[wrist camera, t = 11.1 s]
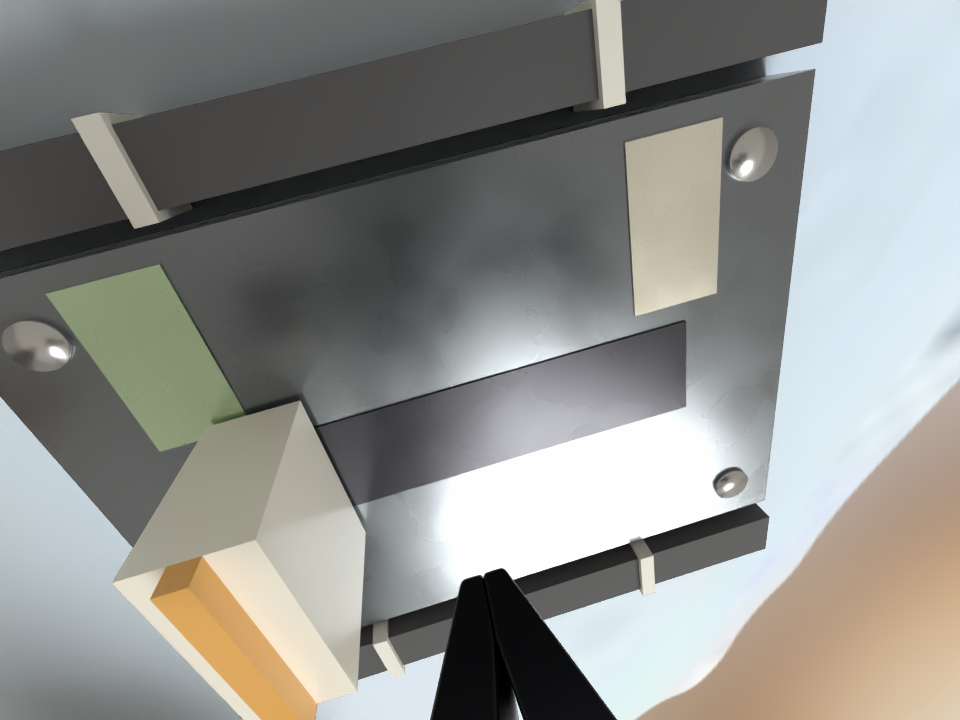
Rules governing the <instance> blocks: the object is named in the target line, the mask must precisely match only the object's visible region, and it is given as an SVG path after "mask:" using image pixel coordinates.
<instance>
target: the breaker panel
mask: <svg viewBox="0 0 960 720" xmlns="http://www.w3.org/2000/svg"><path fill="white" fill-rule="evenodd" d="M814 77H815V69H811V70H804V71H797V72H790V73H783V74H776V75H769V76H764V77H761V78H757V79H753V80H749V81H745V82H741V83H737V84H733V85H729V86H725V87H722V88H718V89H714V90H710V91H706V92H702V93H698V94H694V95H690V96H687V97H683V98H679V99H675V100H671V101H667V102H663V103H659V104H655V105H651V106H648V107H644V108H640V109H636V110H632V111H628V112H624V113H620V114H616V115H613V116H609V117H605V118H601V119H597V120H593V121H589V122H585V123H581V124H577V125H574V126H570V127H566V128H562V129H558V130H554V131H550V132H546V133H542V134H539V135H535V136H531V137H527V138H523V139H519V140H515V141H511V142H507V143H504V144H500V145H496V146H492V147H488V148H484V149H480V150H476V151H472V152H468V153H465V154H461V155H457V156H453V157H449V158H445V159H441V160H437V161H433V162H430V163H426V164H422V165H418V166H414V167H410V168H406V169H402V170H398V171H394V172H391V173H387V174H383V175H379V176H375V177H371V178H367V179H363V180H359V181H356V182H352V183H348V184H344V185H340V186H336V187H332V188H328V189H324V190H320V191H317V192H313V193H309V194H305V195H301V196H297V197H293V198H289V199H285V200H282V201H278V202H274V203H270V204H266V205H262V206H258V207H254V208H250V209H246V210H243V211H239V212H235V213H231V214H227V215H223V216H219V217H215V218H211V219H208V220H204V221H200V222H196V223H192V224H188V225H184V226H180V227H176V228H173V229H169V230H165V231H161V232H157V233H153V234H149V235H145V236H141V237H137V238H134V239H130V240H126V241H122V242H118V243H114V244H110V245H106V246H102V247H99V248H95V249H91V250H87V251H83V252H79V253H75V254H71V255H67V256H63V257H60V258H56V259H52V260H48V261H44V262H40V263H36V264H32V265H28V266H25V267H21V268H17V269H13V270H9V271H5V272H1V273H0V397H1V398H2V399H3V400H4V401H5V402H6V404H7V405H8V406H9V407H10V408H11V409H12V410H13V412H14V413H15V414H16V415H17V416H18V417H19V418H20V420H21V421H22V422H23V423H24V424H25V425H26V426H27V427H28V429H29V430H30V431H31V432H32V433H33V434H34V435H35V437H36V438H37V439H38V440H39V441H40V442H41V443H42V445H43V446H44V447H45V448H46V449H47V450H48V451H49V453H50V454H51V455H52V456H53V457H54V458H55V459H56V461H57V462H58V463H59V464H60V465H61V466H62V467H63V469H64V470H65V471H66V472H67V473H68V474H69V475H70V477H71V478H72V479H73V480H74V481H75V482H76V483H77V484H78V486H79V487H80V488H81V489H82V490H83V491H84V492H85V494H86V495H87V496H88V497H89V498H90V499H91V500H92V502H93V503H94V504H95V505H96V506H97V507H98V508H99V510H100V511H101V512H102V513H103V514H104V515H105V516H106V518H107V519H108V520H109V521H110V522H111V523H112V524H113V526H114V527H115V528H116V529H117V530H118V531H119V532H120V534H121V535H122V536H123V537H124V538H125V539H126V540H127V541H128V543H129V544H130V545H131V546H132V547H134V546H135V544H136V542H137V541H138V539H139V537H140V536H141V534H142V532H143V531H144V529H145V527H146V526H147V524H148V522H149V521H150V519H151V518H152V516H153V514H154V513H155V511H156V509H157V508H158V506H159V504H160V503H161V501H162V499H163V498H164V496H165V495H166V493H167V491H168V490H169V488H170V486H171V485H172V483H173V481H174V480H175V478H176V476H177V475H178V473H179V471H180V470H181V468H182V467H183V465H184V463H185V462H186V460H187V458H188V457H189V455H190V453H191V452H192V450H193V448H194V447H195V445H196V444H197V442H198V440H199V439H200V437H201V435H202V434H203V432H204V430H205V429H206V427H208V426H212V425H215V424H219V423H222V422H226V421H229V420H233V419H236V418H240V417H243V416H247V415H251V414H254V413H258V412H261V411H265V410H268V409H272V408H275V407H279V406H282V405H286V404H289V403H293V402H296V401H301V403H302V405H303V407H304V409H305V411H306V413H307V415H308V417H309V419H310V421H311V423H312V425H313V427H314V429H315V431H316V433H317V435H318V437H319V439H320V441H321V443H322V445H323V447H324V449H325V451H326V453H327V455H328V457H329V459H330V461H331V463H332V466H333V468H334V470H335V472H336V474H337V476H338V478H339V480H340V482H341V484H342V486H343V488H344V490H345V492H346V494H347V496H348V498H349V500H350V502H351V504H352V506H353V508H354V510H355V512H356V514H357V516H358V518H359V520H360V522H361V524H362V526H363V528H364V530H365V532H366V536H365V555H364V574H363V593H362V612H361V627H364V626H368V625H371V624H374V623H377V622H380V621H383V620H387V619H390V618H393V617H396V616H399V615H402V614H406V613H409V612H412V611H415V610H418V609H421V608H425V607H428V606H431V605H434V604H437V603H440V602H444V601H447V600H450V599H453V598H456V597H458V592H459V588H460V584H461V582H462V581H463V580H464V579H466V578H470V577H473V576H476V575H482V576H483V577H484V574H485V573H486V572H489V571H492V570H495V569H498V568H504V569H505V570H506V571H507V572H508V573H509V575H510V576H511V577H512V579H516V578H519V577H523V576H526V575H529V574H532V573H535V572H538V571H542V570H545V569H548V568H551V567H554V566H557V565H561V564H564V563H567V562H570V561H573V560H576V559H580V558H583V557H586V556H589V555H592V554H595V553H599V552H602V551H605V550H608V549H611V548H614V547H618V546H621V545H624V544H627V543H630V542H633V541H637V540H640V539H643V538H646V537H649V536H652V535H656V534H659V533H662V532H665V531H668V530H671V529H675V528H678V527H681V526H684V525H687V524H690V523H694V522H697V521H700V520H703V519H706V518H709V517H713V516H716V515H719V514H722V513H725V512H728V511H732V510H735V509H738V508H741V507H744V506H747V505H751V504H754V503H757V502H760V501H763V500H765V494H766V485H767V477H768V468H769V460H770V451H771V443H772V434H773V426H774V417H775V409H776V400H777V392H778V383H779V375H780V366H781V358H782V349H783V340H784V332H785V323H786V315H787V306H788V298H789V289H790V281H791V272H792V264H793V255H794V247H795V238H796V230H797V221H798V213H799V204H800V196H801V187H802V179H803V170H804V162H805V153H806V145H807V136H808V128H809V119H810V111H811V102H812V94H813V85H814Z"/></svg>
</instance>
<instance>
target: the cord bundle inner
mask: <svg viewBox="0 0 960 720" xmlns="http://www.w3.org/2000/svg"><path fill="white" fill-rule="evenodd" d="M768 523H769V516H768V515H767V514H766V513H765V512H764V511H763V510H762V509H761V508H760V507H759V506H758V505H757V504H756V503H754V504H751V505H747V506H744V507H741V508H738V509H735V510H732V511H728V512H725V513H722V514H719V515H716V516H713V517H709V518H706V519H703V520H700V521H697V522H694V523H690V524H687V525H684V526H681V527H678V528H675V529H671V530H668V531H665V532H662V533H659V534H656V535H652V536H649V537H646V538H643V539H640V540H637V541H633V542H630V543H627V544H624V545H621V546H618V547H614V548H611V549H608V550H605V551H602V552H599V553H595V554H592V555H589V556H586V557H583V558H580V559H576V560H573V561H570V562H567V563H564V564H561V565H557V566H554V567H551V568H548V569H545V570H542V571H538V572H535V573H532V574H529V575H526V576H523V577H519V578H516V579H513V580H514V581H515V583H516V584H517V585H518V587H519V588H520V589H521V591H522V592H523V594H524V595H525V596H526V598H527V599H528V600H529V602H530V603H531V604H532V606H533V607H534V608H535V610H536V611H537V612H538V614H539V615H540V616H541V618H542V619H543V620H545V619H548V618H551V617H554V616H557V615H560V614H564V613H567V612H570V611H573V610H576V609H579V608H582V607H585V606H588V605H591V604H594V603H598V602H601V601H604V600H607V599H610V598H613V597H616V596H619V595H622V594H625V593H629V592H632V591H635V590H638V589H639V590H640V591H641V593H642V595H643V596H646V595H649V594H652V593H655V584H656V583H660V582H663V581H666V580H669V579H672V578H675V577H678V576H681V575H684V574H687V573H691V572H694V571H697V570H700V569H703V568H706V567H709V566H712V565H715V564H718V563H722V562H725V561H728V560H731V559H734V558H737V557H740V556H743V555H746V554H749V553H753V552H756V551H759V550H762V549H765V546H766V539H767V531H768ZM456 601H457V597H456V598H453V599H450V600H447V601H444V602H440V603H437V604H434V605H431V606H428V607H425V608H421V609H418V610H415V611H412V612H409V613H406V614H402V615H399V616H396V617H393V618H390V619H387V620H383V621H380V622H377V623H374V624H371V625H368V626H364V627H361V631H360V650H359V669H358V680H359V679H362V678H365V677H368V676H371V675H374V674H378V673H381V672H384V671H387V670H388V672H389V674H390V675H391V677H392V678H393V677H396V676H399V675H402V674H405V664H409V663H412V662H415V661H418V660H421V659H424V658H427V657H430V656H433V655H436V654H440V653H443V652H445V651H446V646H447V642H448V637H449V633H450V628H451V624H452V619H453V615H454V610H455V606H456Z"/></svg>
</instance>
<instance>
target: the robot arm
mask: <svg viewBox="0 0 960 720" xmlns="http://www.w3.org/2000/svg"><path fill="white" fill-rule="evenodd" d="M515 697H516V699H515ZM516 700H517V703H518V706H519V709H520V711H521V714H522V717H523V720H617V719H616V718H615V716H614V715H613V714H612V712H611V711H610V710H609V708H608V707H607V705H606V704H605V703H604V701H603V700H602V699H601V697H600V696H599V695H598V693H597V692H596V691H595V689H594V688H593V687H592V685H591V684H590V683H589V681H588V680H587V679H586V677H585V676H584V674H583V673H582V672H581V670H580V669H579V668H578V666H577V665H576V664H575V662H574V661H573V660H572V658H571V657H570V656H569V654H568V653H567V652H566V650H565V649H564V647H563V646H562V645H561V643H560V642H559V641H558V639H557V638H556V637H555V635H554V634H553V633H552V631H551V630H550V629H549V627H548V626H547V625H546V623H545V622H544V620H543V619H542V618H541V616H540V615H539V614H538V612H537V611H536V610H535V608H534V607H533V606H532V604H531V603H530V602H529V600H528V599H527V598H526V596H525V595H524V594H523V592H522V591H521V589H520V588H519V587H518V585H517V584H516V583H515V581H514V580H513V579H512V577H511V576H510V575H509V573H508V572H507V571H506V570H505V569H504V568H498V569H495V570H492V571H489V572H486V573H485V574H484V577H483V576H482V575H476V576H473V577H470V578H466V579H464V580H463V581H462V582H461V584H460V588H459V592H458V597H457V601H456V606H455V610H454V615H453V619H452V624H451V628H450V633H449V637H448V642H447V646H446V651H445V655H444V660H443V664H442V669H441V673H440V678H439V682H438V687H437V691H436V696H435V701H434V705H433V710H432V714H431V719H430V720H519V717H518V711H517V705H516Z"/></svg>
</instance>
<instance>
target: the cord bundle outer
mask: <svg viewBox="0 0 960 720" xmlns="http://www.w3.org/2000/svg"><path fill="white" fill-rule="evenodd" d="M826 6H827V0H625V1H621V2H620V0H584V1H583V2H581V3H580V4H578V5H577V6H575V7H574V8H572V9H571V10H569V11H568V12H566V13H564V14H563V16H558V17H554V18H550V19H546V20H542V21H538V22H534V23H529V24H525V25H521V26H517V27H513V28H509V29H505V30H500V31H496V32H492V33H488V34H484V35H480V36H476V37H471V38H467V39H463V40H459V41H455V42H451V43H447V44H443V45H438V46H434V47H430V48H426V49H422V50H418V51H414V52H409V53H405V54H401V55H397V56H393V57H389V58H385V59H380V60H376V61H372V62H368V63H364V64H360V65H356V66H351V67H347V68H343V69H339V70H335V71H331V72H327V73H322V74H318V75H314V76H310V77H306V78H302V79H298V80H293V81H289V82H285V83H281V84H277V85H273V86H269V87H264V88H260V89H256V90H252V91H248V92H244V93H240V94H235V95H231V96H227V97H223V98H219V99H215V100H211V101H206V102H202V103H198V104H194V105H190V106H186V107H182V108H177V109H173V110H169V111H165V112H161V113H157V114H153V115H148V116H145V115H135V114H119V113H103V112H98V113H93V114H89V115H85V116H81V117H77V118H72V119H71V120H72V122H73V124H74V126H75V127H76V129H77V131H78V133H74V134H70V135H66V136H62V137H57V138H53V139H49V140H45V141H41V142H37V143H33V144H28V145H24V146H20V147H16V148H12V149H8V150H4V151H0V251H3V250H7V249H11V248H14V247H18V246H22V245H26V244H30V243H34V242H38V241H42V240H46V239H50V238H54V237H58V236H62V235H66V234H70V233H74V232H77V231H81V230H85V229H89V228H93V227H97V226H101V225H105V224H109V223H113V222H117V221H121V220H125V219H129V220H130V222H131V224H132V225H133V227H134V229H136V228H140V227H144V226H148V225H152V224H156V223H159V222H162V221H164V220H167V219H169V218H172V217H174V216H177V215H179V214H182V213H184V212H187V211H189V210H191V209H193V208H192V206H191V204H190V203H192V202H196V201H199V200H203V199H207V198H211V197H215V196H219V195H223V194H227V193H231V192H235V191H239V190H243V189H247V188H251V187H255V186H259V185H262V184H266V183H270V182H274V181H278V180H282V179H286V178H290V177H294V176H298V175H302V174H306V173H310V172H314V171H318V170H321V169H325V168H329V167H333V166H337V165H341V164H345V163H349V162H353V161H357V160H361V159H365V158H369V157H373V156H377V155H381V154H384V153H388V152H392V151H396V150H400V149H404V148H408V147H412V146H416V145H420V144H424V143H428V142H432V141H436V140H440V139H443V138H447V137H451V136H455V135H459V134H463V133H467V132H471V131H475V130H479V129H483V128H487V127H491V126H495V125H499V124H503V123H506V122H510V121H514V120H518V119H522V118H526V117H530V116H534V115H538V114H542V113H546V112H550V111H554V110H558V109H562V108H566V107H569V106H573V111H574V112H578V111H588V110H598V109H605V108H609V107H613V106H617V105H621V104H625V103H626V95H625V92H628V91H632V90H636V89H640V88H644V87H648V86H652V85H656V84H660V83H664V82H668V81H672V80H676V79H680V78H684V77H688V76H691V75H695V74H699V73H703V72H707V71H711V70H715V69H719V68H723V67H727V66H731V65H735V64H739V63H743V62H747V61H750V60H754V59H758V58H762V57H766V56H770V55H774V54H778V53H782V52H786V51H790V50H794V49H798V48H802V47H806V46H810V45H813V44H817V43H821V42H822V40H823V31H824V23H825V15H826Z"/></svg>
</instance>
